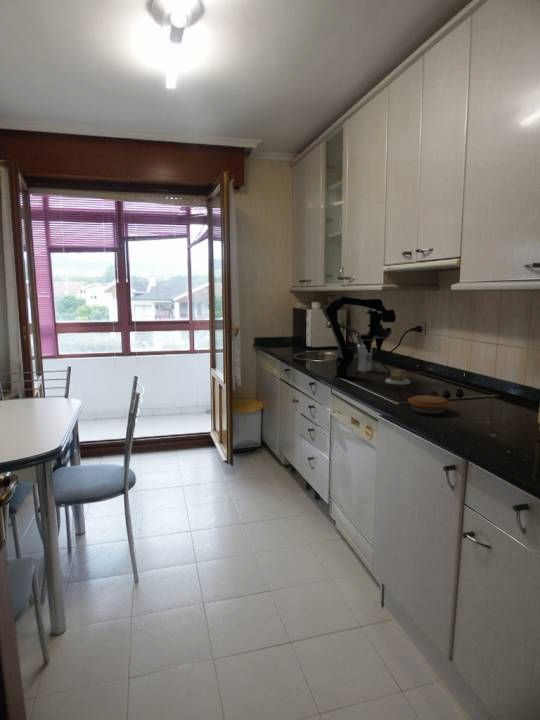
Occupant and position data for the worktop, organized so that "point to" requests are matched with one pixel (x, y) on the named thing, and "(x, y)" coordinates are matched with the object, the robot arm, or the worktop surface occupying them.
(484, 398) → the worktop surface
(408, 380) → the saucer
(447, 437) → the worktop surface
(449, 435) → the worktop surface
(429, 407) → the pie
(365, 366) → the syrup box
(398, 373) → the beech block
